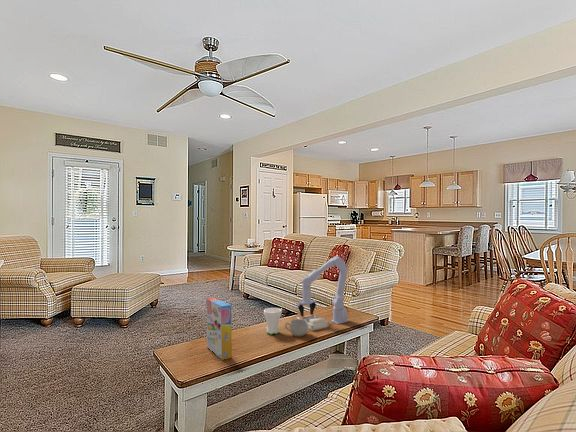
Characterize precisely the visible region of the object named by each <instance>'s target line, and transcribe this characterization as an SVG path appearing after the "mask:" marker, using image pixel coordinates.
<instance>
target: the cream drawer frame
mask: <svg viewBox="0 0 576 432" xmlns="http://www.w3.org/2000/svg"><path fill="white" fill-rule="evenodd" d="M315 316H316V315H314V317H315ZM295 319H300V318H299V316H297V317H295ZM303 320H304V319H303ZM329 327H330V322H329V321H328V320H325V322H323V323H318V324H313V325H312V324H310V323H309V322H308V330H309V331H311V332H314V331H315V332H316V331H319V330H325V329H328V328H329Z"/></svg>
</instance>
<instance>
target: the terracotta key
mask: <svg viewBox="0 0 576 432" xmlns="http://www.w3.org/2000/svg"><path fill="white" fill-rule="evenodd" d="M314 316H315V315H314V314H313V315H312V314H310V313H308V314H305V315H304V316H303V317H302V316H301V315H300V316H298V317H299V318H300V319H305V318H310V317H314Z"/></svg>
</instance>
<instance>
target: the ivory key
mask: <svg viewBox="0 0 576 432" xmlns="http://www.w3.org/2000/svg"><path fill="white" fill-rule="evenodd" d="M318 317H319V318H314V319H309V323H310V324H312V325H313V324H318V323H323V322H325V321H326V320H325V318H324V317H322V316H318Z"/></svg>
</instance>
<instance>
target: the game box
mask: <svg viewBox="0 0 576 432" xmlns="http://www.w3.org/2000/svg"><path fill="white" fill-rule="evenodd" d="M205 305H206V306H205V307H206V309H205V310H206V313H205V314H206V315H205V316H206V348H207V347H208V348H209V349H210V350H209V349H208V348H207V349H208V350H209V351H210V352H212V351H213V352H214V353H215V354H216V355H215V354H214V353H213V352H212V353H213V354H214V355H215V356H217V357H218V358H219V359H220V360H221V361H225V360H228V359H231V358H232V357H233V354H232V352H233V351H232V347H233V345H232V344H233V343H232V342H233V341H232V304H230V303H228V302H225V301H223V300H221V299H219V298H217V297H208V298H206V299H205ZM224 359H225V360H224Z"/></svg>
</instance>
